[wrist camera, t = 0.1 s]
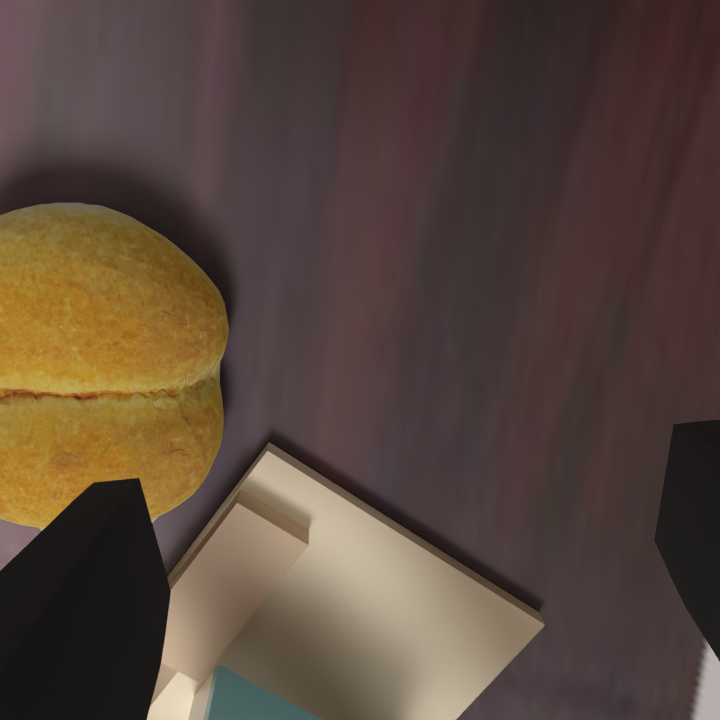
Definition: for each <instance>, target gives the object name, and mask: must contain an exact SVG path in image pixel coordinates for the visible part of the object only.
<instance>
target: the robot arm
mask: <svg viewBox="0 0 720 720" xmlns="http://www.w3.org/2000/svg"><path fill="white" fill-rule="evenodd" d="M655 543H656V545H657V547H658V549H659V552H660V554H661V556H662V558H663V560H664V563H665V565H666V567H667V569H668V571H669V574H670V576H671V578H672V580H673V582H674V584H675V586H676V588H677V590H678V592H679V594H680V596H681V598H682V600H683V602H684V604H685V606H686V608H687V610H688V612H689V613H690V615H691V616H692V618H693V620H694V621H695V623H696V624H697V626H698V628H699V629H700V631H701V632H702V634H703V636H704V637H705V639H706V640H707V642H708V643H709V645H710V647H711V648H712V650H713V651H714V653H715V654H716V656H717V657H718V659H719V661H720V420H712V421H702V422H692V423H682V424H674V426H673V432H672V438H671V444H670V450H669V456H668V462H667V468H666V474H665V480H664V486H663V492H662V498H661V504H660V510H659V516H658V522H657V528H656V535H655ZM170 595H171V589H170V586H169V582H168V579H167V575H166V572H165V568H164V564H163V561H162V557H161V554H160V550H159V546H158V543H157V539H156V536H155V532H154V529H153V525H152V521H151V518H150V514H149V511H148V507H147V503H146V500H145V496H144V493H143V489H142V485H141V482H140V478H133V479H123V480H113V481H103V482H93V483H92V484H91V485H90V486H89V487H88V488H87V489H85V490H84V491H83V492H82V493H81V494H80V495H79V496H78V497H77V498H76V499H74V500H73V501H72V502H71V503H70V504H69V505H68V506H67V507H66V508H65V509H64V510H63V511H62V512H61V513H60V514H59V515H58V516H57V517H56V518H55V519H54V520H53V521H52V522H51V523H50V524H49V525H48V526H47V527H46V528H44V529H43V530H42V531H41V532H40V533H39V534H38V535H37V536H36V537H35V538H34V539H33V540H32V541H31V542H30V543H29V544H28V545H27V546H26V547H25V548H24V549H23V550H22V551H21V552H20V553H19V554H18V555H17V556H16V557H14V558H13V559H12V560H11V561H10V562H9V563H8V564H7V565H6V566H5V567H4V568H3V569H2V570H1V571H0V720H147V717H148V713H149V709H150V705H151V701H152V697H153V694H154V690H155V686H156V682H157V678H158V674H159V670H160V666H161V660H162V654H163V647H164V640H165V634H166V626H167V618H168V611H169V603H170Z"/></svg>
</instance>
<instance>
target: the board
mask: <svg viewBox="0 0 720 720" xmlns="http://www.w3.org/2000/svg"><path fill="white" fill-rule="evenodd" d="M240 489H241V490H243V491H244V492H246V493H248V494H249V495H251V496H253V497H254V498H256V499H258V500H259V501H261V502H263V503H264V504H266V505H268V506H269V507H271V508H273V509H274V510H276V511H278V512H279V513H281V514H282V515H284V516H286V517H287V518H289V519H291V520H292V521H294V522H296V523H297V524H299V525H301V526H302V527H304V528H306V529H307V530H309V546H308V547H307V548H306V549H305V551H304V552H303V553H302V554H301V556H300V557H299V558H298V559H297V561H296V562H295V563H294V564H293V566H292V567H291V568H290V569H289V570H288V572H287V573H286V574H285V575H284V577H283V578H282V579H281V580H280V582H279V583H278V584H277V585H276V587H275V588H274V589H273V590H272V592H271V593H270V594H269V595H268V597H267V598H266V599H265V600H264V602H263V603H262V604H261V605H260V607H259V608H258V609H257V610H256V611H255V613H254V614H253V615H252V616H251V618H250V619H249V620H248V621H247V623H246V624H245V625H244V626H243V628H242V629H241V630H240V631H239V633H238V634H237V635H236V636H235V638H234V639H233V640H232V641H231V643H230V644H229V645H228V646H227V648H226V649H225V650H224V651H223V653H222V654H221V655H220V656H219V657H218V659H217V660H216V661H215V662H214V664H213V665H212V666H211V667H210V669H209V670H208V671H207V672H206V674H205V675H204V676H203V677H202V679H201V680H200V681H199V682H197V681H195V680H193V679H191V678H189V677H188V676H186V675H184V674H182V673H180V672H177V673H176V675H175V676H174V677H173V678H172V680H171V681H170V682H169V684H168V685H167V686H166V687H165V689H164V690H163V691H162V692H161V694H160V695H159V696H158V697H157V699H156V700H155V701H154V702H153V704H152V705H151V706H150V709H149V713H148V717H147V720H188V719H189V715H190V710H191V706H192V702H193V697H194V695H195V693H196V692H197V691H198V690H199V688H200V687H201V686H202V685H203V684H204V682H205V681H206V680H207V679H208V677H209V676H210V675H211V674H212V672H213V671H214V670H215V669H216V667H217V666H218V665H221V666H222V667H224V668H226V669H228V670H230V671H232V672H234V673H236V674H237V675H239V676H241V677H243V678H245V679H247V680H249V681H251V682H253V683H254V684H256V685H258V686H260V687H262V688H264V689H266V690H268V691H269V692H271V693H273V694H275V695H277V696H279V697H281V698H283V699H284V700H286V701H288V702H290V703H292V704H294V705H296V706H298V707H300V708H301V709H303V710H305V711H307V712H309V713H311V714H313V715H315V716H316V717H318V718H320V719H322V720H456V719H457V718H458V717H459V716H460V715H461V714H462V713H463V712H464V711H465V709H466V708H467V707H468V706H469V705H470V704H471V703H472V702H473V701H474V700H475V699H476V698H477V697H478V696H479V695H480V694H481V692H482V691H483V690H484V689H485V688H486V687H487V686H488V685H489V684H490V683H491V682H492V681H493V680H494V679H495V678H496V677H497V676H498V674H499V673H500V672H501V671H502V670H503V669H504V668H505V667H506V666H507V665H508V664H509V663H510V662H511V661H512V660H513V659H514V657H515V656H516V655H517V654H518V653H519V652H520V651H521V650H522V649H523V648H524V647H525V646H526V645H527V644H528V643H529V642H530V641H531V639H532V638H533V637H534V636H535V635H536V634H537V633H538V632H539V631H540V630H541V629H542V628H543V627H544V626H545V623H544V621H543V619H542V617H541V615H540V613H539V612H537V611H536V610H534V609H533V608H531V607H529V606H528V605H526V604H525V603H523V602H522V601H520V600H518V599H517V598H515V597H514V596H512V595H510V594H509V593H507V592H506V591H504V590H503V589H501V588H499V587H498V586H496V585H495V584H493V583H491V582H490V581H488V580H487V579H485V578H484V577H482V576H480V575H479V574H477V573H476V572H474V571H472V570H471V569H469V568H468V567H466V566H465V565H463V564H461V563H460V562H458V561H457V560H455V559H453V558H452V557H450V556H449V555H447V554H446V553H444V552H442V551H441V550H439V549H438V548H436V547H434V546H433V545H431V544H430V543H428V542H426V541H425V540H423V539H422V538H420V537H419V536H417V535H415V534H414V533H412V532H411V531H409V530H407V529H406V528H404V527H403V526H401V525H400V524H398V523H396V522H395V521H393V520H392V519H390V518H388V517H387V516H385V515H384V514H382V513H381V512H379V511H377V510H376V509H374V508H373V507H371V506H369V505H368V504H366V503H365V502H363V501H362V500H360V499H358V498H357V497H355V496H354V495H352V494H350V493H349V492H347V491H346V490H344V489H343V488H341V487H339V486H338V485H336V484H335V483H333V482H331V481H330V480H328V479H327V478H325V477H324V476H322V475H320V474H319V473H317V472H316V471H314V470H312V469H311V468H309V467H308V466H306V465H304V464H303V463H301V462H300V461H298V460H297V459H295V458H293V457H292V456H290V455H289V454H287V453H285V452H284V451H282V450H281V449H279V448H278V447H276V446H274V445H273V444H271V443H270V442H269V443H268V444H267V445H266V447H265V448H264V449H263V451H262V452H261V453H260V455H259V456H258V457H257V459H256V460H255V461H254V463H253V464H252V465H251V467H250V468H249V469H248V471H247V472H246V473H245V475H244V476H243V477H242V479H241V480H240V481H239V483H238V484H237V485H236V487H235V488H234V489H233V491H232V492H231V493H230V495H229V496H228V497H227V498H226V500H225V501H224V502H223V504H222V505H221V506H220V508H219V509H218V510H217V512H216V513H215V514H214V516H213V517H212V518H211V520H210V521H209V522H208V524H207V525H206V526H205V528H204V529H203V530H202V532H201V533H200V534H199V536H198V537H197V538H196V540H195V541H194V542H193V544H192V545H191V546H190V548H189V549H188V550H187V552H186V553H185V554H184V556H183V557H182V558H181V560H180V561H179V562H178V564H177V565H176V566H175V568H174V569H173V570H172V572H171V573H170V574H169V576H168V577H167V579H168V582H169V583H170V582H171V580H172V579H173V578H174V576H175V575H176V574H177V572H178V571H179V570H180V568H181V567H182V566H183V564H184V563H185V562H186V561H187V559H188V558H189V557H190V555H191V554H192V553H193V551H194V550H195V549H196V547H197V546H198V545H199V543H200V542H201V541H202V539H203V538H204V537H205V535H206V534H207V533H208V531H209V530H210V529H211V527H212V526H213V525H214V523H215V522H216V521H217V519H218V518H219V517H220V516H221V514H222V513H223V512H224V510H225V509H226V508H227V506H228V505H229V504H230V502H231V501H232V500H233V498H234V497H235V496H236V494H237V493H238V492H239V490H240Z"/></svg>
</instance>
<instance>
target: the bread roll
mask: <svg viewBox="0 0 720 720" xmlns="http://www.w3.org/2000/svg"><path fill="white" fill-rule="evenodd" d="M228 335H229V326H228V319H227V313H226V308H225V303H224V301H223V298H222V296H221V294H220V292H219V290H218V289H217V287H216V286H215V285H214V283H213V282H212V281H211V279H210V278H209V277H208V276H207V275H206V274H205V272H204V271H203V270H202V269H201V268H200V267H199V266H198V265H197V264H196V263H195V262H194V261H193V260H192V259H191V258H190V257H189V256H188V255H187V254H185V253H184V252H183V251H182V250H181V249H179V248H178V247H177V246H176V245H175V244H173V243H172V242H171V241H170V240H168V239H167V238H165V237H164V236H163V235H161V234H160V233H158V232H156V231H154V230H153V229H151V228H149V227H147V226H146V225H144V224H142V223H141V222H139V221H137V220H136V219H134V218H132V217H131V216H128V215H126V214H123V213H121V212H118V211H116V210H113V209H110V208H107V207H104V206H101V205H89V204H84V203H53V204H39V205H35V206H30V207H26V208H22V209H17V210H14V211H11V212H8V213H5V214H2V215H0V519H3V520H7V521H10V522H14V523H17V524H20V525H25V526H32V527H38V528H39V529H41V530H43V529H44V528H46V527H47V526H48V525H49V524H50V523H51V522H52V521H53V520H54V519H55V518H56V517H57V516H58V515H59V514H60V513H61V512H62V511H63V510H64V509H65V508H66V507H67V506H68V505H69V504H70V503H71V502H72V501H73V500H74V499H76V498H77V497H78V496H79V495H80V494H81V493H82V492H83V491H84V490H85V489H87V488H88V487H89V486H90V485H91V484H92V483H93V482H103V481H113V480H123V479H133V478H140V482H141V485H142V489H143V493H144V496H145V500H146V503H147V507H148V511H149V514H150V518H151V521H152V523H153V522H154V521H155V520H156V519H157V518H158V516H160V515H162V514H165V513H167V512H169V511H170V510H172V509H173V508H175V507H177V506H178V505H180V504H181V503H182V502H184V501H185V500H186V499H188V498H189V497H190V496H192V495H193V494H194V493H195V491H196V490H197V489H198V488H199V486H200V485H201V484H202V483H203V481H204V480H205V478H206V476H207V474H208V472H209V471H210V469H211V466H212V464H213V462H214V460H215V457H216V455H217V453H218V450H219V447H220V444H221V441H222V437H223V426H224V414H223V402H222V394H221V388H220V361H221V359H222V357H223V354H224V351H225V348H226V344H227V339H228Z"/></svg>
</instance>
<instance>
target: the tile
mask: <svg viewBox="0 0 720 720" xmlns="http://www.w3.org/2000/svg"><path fill="white" fill-rule="evenodd" d="M188 720H322V719H320V718H318V717H316V716H315V715H313V714H311V713H309V712H307V711H305V710H303V709H301V708H300V707H298V706H296V705H294V704H292V703H290V702H288V701H286V700H284V699H283V698H281V697H279V696H277V695H275V694H273V693H271V692H269V691H268V690H266V689H264V688H262V687H260V686H258V685H256V684H254V683H253V682H251V681H249V680H247V679H245V678H243V677H241V676H239V675H237V674H236V673H234V672H232V671H230V670H228V669H226V668H224V667H222V666H221V665H218V666H217V667H216V669H215V670H214V671H213V672H212V674H211V675H210V676H209V677H208V679H207V680H206V681H205V682H204V684H203V685H202V686H201V687H200V688H199V690H198V691H197V692H196V693H195V695H194V697H193V702H192V706H191V710H190V715H189V719H188Z"/></svg>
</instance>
